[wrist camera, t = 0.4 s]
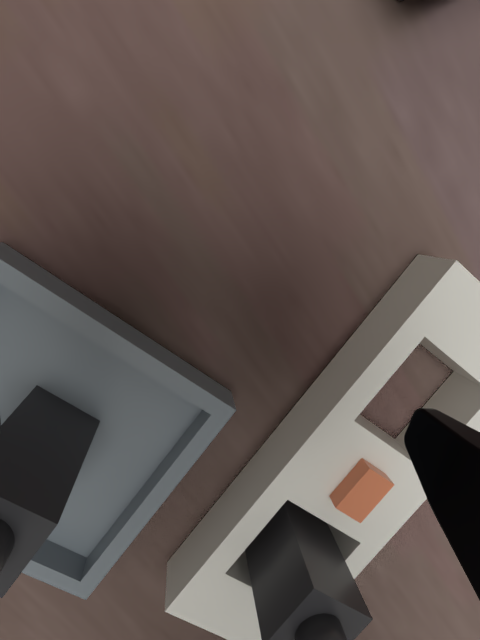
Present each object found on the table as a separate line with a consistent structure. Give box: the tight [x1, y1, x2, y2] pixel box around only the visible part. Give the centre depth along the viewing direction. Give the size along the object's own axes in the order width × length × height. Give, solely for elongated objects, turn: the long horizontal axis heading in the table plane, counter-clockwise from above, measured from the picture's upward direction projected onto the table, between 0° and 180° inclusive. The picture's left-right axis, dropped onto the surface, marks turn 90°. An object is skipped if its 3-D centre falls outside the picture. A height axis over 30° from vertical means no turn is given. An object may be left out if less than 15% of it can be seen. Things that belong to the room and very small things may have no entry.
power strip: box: [165, 254, 480, 640], centre depth 24 cm, size 26×9×4 cm, turn 142°
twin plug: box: [245, 500, 372, 640], centre depth 22 cm, size 4×4×10 cm
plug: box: [0, 385, 100, 598], centre depth 18 cm, size 4×4×10 cm
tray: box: [0, 242, 236, 600], centre depth 22 cm, size 15×15×2 cm
